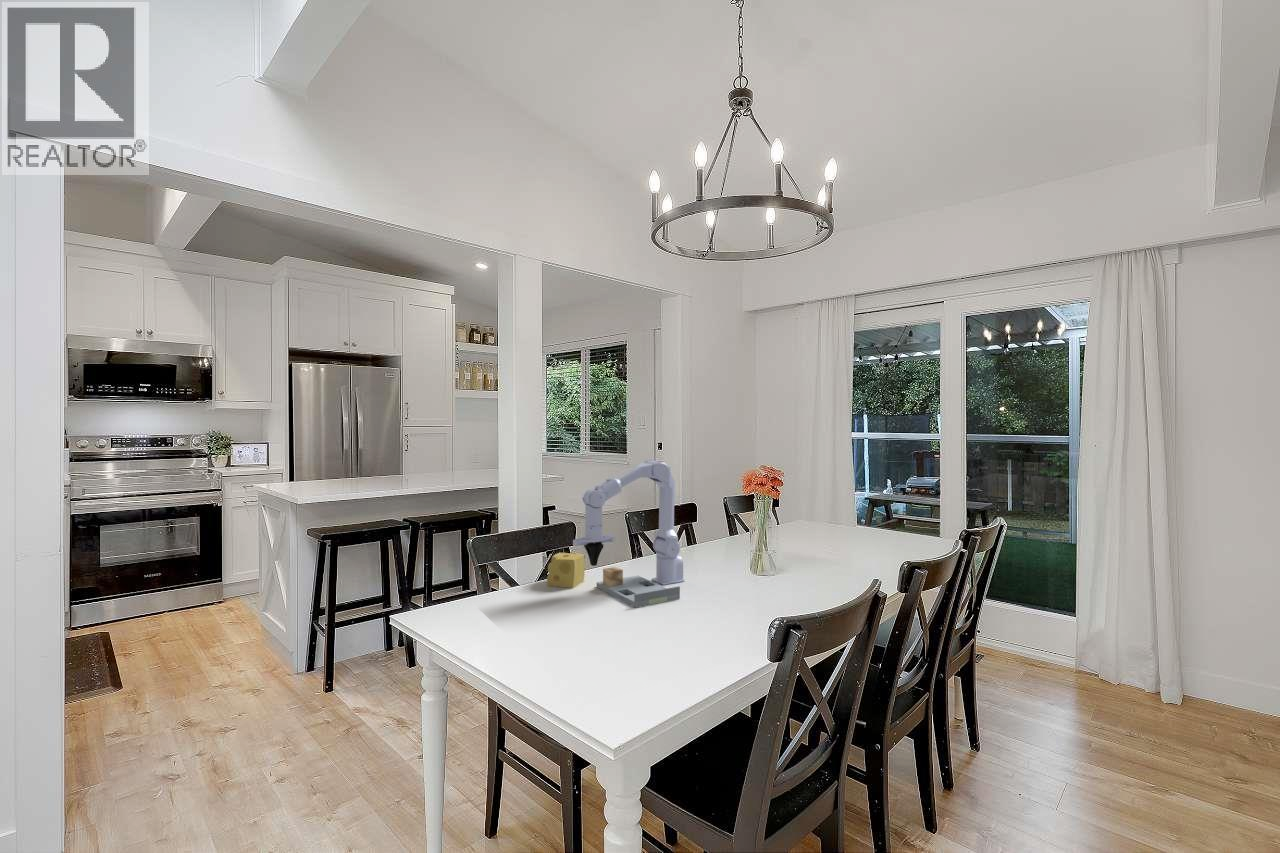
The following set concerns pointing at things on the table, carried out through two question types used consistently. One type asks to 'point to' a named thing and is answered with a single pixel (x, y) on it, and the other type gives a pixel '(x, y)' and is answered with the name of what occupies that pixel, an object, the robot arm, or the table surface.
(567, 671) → the table surface
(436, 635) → the table surface
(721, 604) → the table surface
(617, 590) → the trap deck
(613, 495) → the robot arm
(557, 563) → the cheese
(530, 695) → the table surface
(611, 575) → the oak block
